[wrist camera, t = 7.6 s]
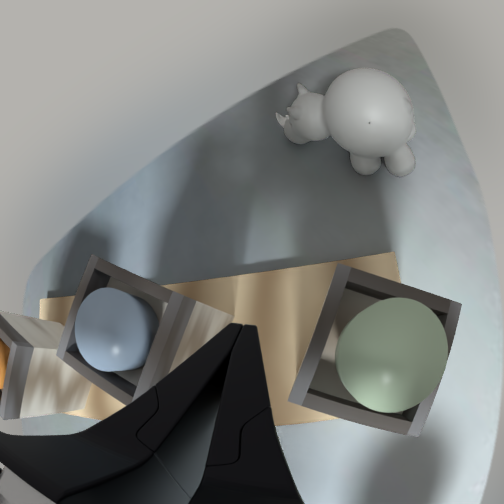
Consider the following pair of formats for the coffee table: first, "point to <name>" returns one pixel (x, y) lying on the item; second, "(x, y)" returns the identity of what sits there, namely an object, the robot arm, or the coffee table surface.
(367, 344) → the sage button
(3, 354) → the orange button
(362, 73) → the toy rhinoceros
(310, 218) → the coffee table surface
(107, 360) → the slate button
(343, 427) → the coffee table surface
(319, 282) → the button board
